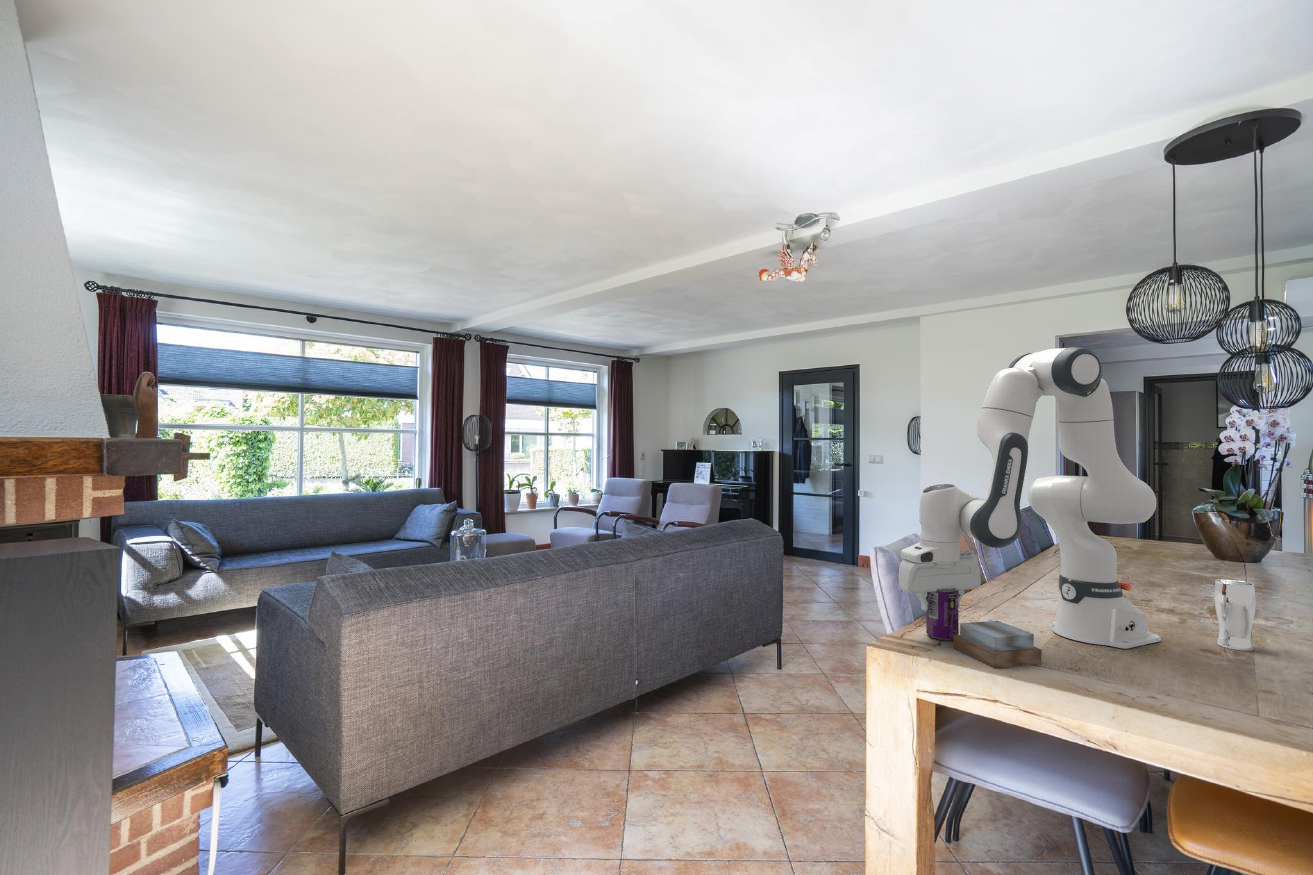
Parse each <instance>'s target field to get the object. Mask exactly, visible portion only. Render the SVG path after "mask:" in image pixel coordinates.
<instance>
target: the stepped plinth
mask: <svg viewBox="0 0 1313 875" xmlns="http://www.w3.org/2000/svg"><path fill="white" fill-rule="evenodd" d="M1034 641H1035V634H1034V633H1031V632H1029V631H1026V630H1023V629H1021V628H1018V627H1015V626H1013V625H1009V624H1008V623H1005V622H1003V621H999V620H988V621H974V622H960V623H959V635H953V640H952V649H953V650H955V651H957V652H960V653H962V654H963V655H966V656H968V657H970V658H972V659H974V660H977V661H978V662H981V663H982V664H984V665H987V666H989V667H991V668H993V669H997V668H1008V667H1009V668H1010V667H1019V666H1020V667H1021V666H1031V665H1040V664H1041V665H1042V663H1043V661H1042V658H1043V657H1042V656H1043V652H1042V651H1043V650H1042V649H1041V648H1039V647H1036V646H1035V642H1034Z"/></svg>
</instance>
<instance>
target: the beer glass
mask: <svg viewBox="0 0 1313 875" xmlns="http://www.w3.org/2000/svg"><path fill="white" fill-rule="evenodd" d="M1213 592H1214V593H1213V602H1214V607H1215V608H1214V609H1215V614H1216V618H1217V622H1218V623H1217V624H1218V636H1217V640H1216V644H1217V645H1218V646H1220V647H1222V648H1225V649H1230V650H1236V651H1243V652H1251V651H1252V652H1253V650H1254V646H1253V643H1252V636H1251V634H1252V627H1253V622H1254V618H1255V613H1256V608H1257V607H1256V606H1257V604H1256V603H1257V598H1256V589H1255V584H1254V583H1252V582H1249V581H1245V580H1238V579H1230V578H1228V579H1227V578H1217V579H1215V580H1214V591H1213Z"/></svg>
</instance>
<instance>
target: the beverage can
mask: <svg viewBox="0 0 1313 875" xmlns="http://www.w3.org/2000/svg"><path fill="white" fill-rule="evenodd" d="M925 598H926V600H927V602H929V603H931V610H927V611H925V626H926V627H925V628H926V632H925V633H926V634H927V635H929V636H930V637H932V638H933V639H934V640H935V639H936V640H939V641H953V635H960V623H959V618H960V617H959V608H958V595H957V593H956V588H954V589H953V590H948V589H942V590H936V592H927V597H925Z"/></svg>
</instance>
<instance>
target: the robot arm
mask: <svg viewBox="0 0 1313 875" xmlns="http://www.w3.org/2000/svg"><path fill="white" fill-rule="evenodd" d="M1102 376H1103V369H1102V365H1101V361H1100V359H1099V357H1098V355H1097V354H1096V353H1095V352H1094V351H1093V350H1091V349H1088V348H1085V347H1080V346H1079V347H1078V346H1070V347H1061V348H1060V347H1057V348H1048V349H1045V350H1040V351H1036V352H1028V353H1026V354H1022V355H1020V356H1018V357H1016V358H1015V359H1014V360H1013V361H1012V362H1011V363H1010V364H1009V365H1008V368H1003V369H1001V370H1000V371H998V372H997V373H996V374H995V375H994V377H993V378H992V380H991V381H990V384H989V387H988V389H987V391H986V394H985V395H984V399H983V402H982V405H981V409H980V412H979V415H978V419H977V430H976V432H977V436H978V439H979V440H980V441H981V443H982V444H983V445H984V447H985V448H987V449H988V451H989V452H990V454H991V457H992V459H993V468H992V472H991V478H990V483H989V488H988V494H987V497H986V498H985V499H984V498H980V497H977V496H974V495H973V494H970V493H967V492H965V491H963V490H961V489H960V488H958V487H957V486H956V485H954V484H952V483H951V484H950V483H946V484H945V483H942V484H935V485H931V486H928V487H926V488H925V489H923V490H922V492H921V495H920V502H919V523H920V528H921V530H920V531H921V532H920V535H919V541H918V542H916V543H915V544H912V545H910V546H907V547H905V548H903V549H902V550H900V557H901V558H902V559H903V560H902V561H900V564H899V569H898V587H899V588H900V590H902V591H903V592H904V593H907V594H916V596H917V598H918V599H919V602H920V608H921V610H922V611H925V612H926V611H927V610H931V603H929V602H927V600H926V597H927V592H936V590H942V589H948V590H953V589H954V588H956V593H957V595H958V609H959V608H960V606H961V605H960V602H961V600H962V598H963V597H964V594H965V591H964V590H977V589H979V588H980V587H981V571H980V565H979V556H978V554H977V553H976V552H974V551H973V550H972V549H967V550H963V549H962V550H961V538H962V537H963V536H967V537H970V538H972V539H974V540H976V541H978V542H980V543H982V544H983V545H985V546H986V547H989V548H994V549H1000V548H1004V547H1008V546H1010V545H1012V544H1013V543H1014V542H1015V541H1017V539H1019V537H1020V535H1021V533H1022V528H1023V522H1022V521H1023V520H1022V513H1021V498H1022V493H1023V488H1024V482H1025V476H1026V471H1027V466H1028V465H1027V464H1028V457H1029V437H1030V431H1031V428H1032V422H1033V420H1034V416H1035V413H1036V407H1037V402H1038V401H1039V399H1040V398H1041V397H1042V396H1046V397H1047V396H1049V397H1050V396H1053V397H1054V398H1055V400H1056V402H1057V431H1058V432H1057V434H1058V450H1059V451H1060V454H1062V455H1063V457H1065V458H1066V459H1068V460H1070V461H1072V462H1074V463H1077V464H1078V465H1080V466H1082V468H1083V469H1084V470H1085V471H1086V473H1087V476H1083V475H1082V476H1079V475H1060V474H1059V475H1050V476H1044V477H1038V478H1036V479H1035V480H1034V481H1033V482H1032V483H1031V484H1030V487H1029V488H1028V491H1027V500H1028V503H1029V505H1030V508H1031V509H1032V510H1033V511H1034V512H1035V514H1037V515H1039V517H1041V518H1042V519H1043V520H1045V521H1046V522H1047V524H1049V526H1050V528H1051V529H1052V530H1053V532H1054V535H1055V536H1056V539H1057V541H1058V546H1059V554H1060V556H1059V557H1060V574H1059V576H1058V580H1057V582H1058V589H1059V592H1060V593H1059V594H1058V596H1057V604H1056V612H1055V613H1056V614H1055V620H1053V621H1052V626H1053V628H1052V631H1053V632H1054V633H1056V635H1059V636H1062V637H1064V638H1067V639H1070V640H1074V641H1078V642H1082V643H1087V644H1092V645H1093V644H1094V645H1100V646H1101V645H1102V646H1108V647H1109V646H1110V647H1114V648H1119V649H1126V650H1127V649H1131V648H1136V647H1140V646H1144V645H1149V644H1154V643H1159V642H1161V636H1159V635H1157V634H1156V633H1153V632H1151V631H1148V621H1147V617H1146V615H1145V614H1144V612H1143V611H1142V610H1140V609H1139V608H1138V607H1137V606H1136V605H1134V604H1133V603H1132V602H1130V601H1129V600H1128V599H1126V597H1124V593H1123V590H1124V591H1126V592H1130V591H1131V590H1132V589H1133V586H1132V584H1131V582H1128V581H1127V582H1125V581H1123V580H1122V581H1119V580H1117V577H1118V573H1117V572H1118V568H1117V565H1118V563H1117V561H1118V560H1117V559H1118V558H1117V557H1118V555H1117V551H1116V549H1115V547H1114V546H1113V545H1112V544H1111V543H1110V542H1109V541H1108V540H1106V539H1105V538H1102V537H1101V536H1098V535H1096V534H1095V533H1094V532H1093V531H1092V530H1091V529H1090V527H1089V524H1088V522H1092V523H1104V524H1105V523H1106V524H1114V525H1115V524H1116V525H1128V524H1142V523H1143V524H1144V523H1146V522H1147V521H1148V520H1150V518H1151V517H1152V516H1153V515H1154V513H1155V510H1156V508H1157V497H1156V494H1155V491H1153V489H1152V488H1151V487H1150V486H1149V484H1147V483H1146V482H1144V481H1143V480H1141V478H1138V477H1137V476H1135V474H1133V473H1132V472H1131V471H1130V470H1129V469H1128V468H1127V467H1126V466H1125V464H1124V463H1123V462H1122V459H1121V458H1120V455H1119V453H1118V449H1117V444H1116V437H1115V424H1114V423H1115V422H1114V409H1113V402H1112V397H1111V393H1110V389H1109V386H1108V383H1107V381H1106V380H1105V379H1103V377H1102Z"/></svg>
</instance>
